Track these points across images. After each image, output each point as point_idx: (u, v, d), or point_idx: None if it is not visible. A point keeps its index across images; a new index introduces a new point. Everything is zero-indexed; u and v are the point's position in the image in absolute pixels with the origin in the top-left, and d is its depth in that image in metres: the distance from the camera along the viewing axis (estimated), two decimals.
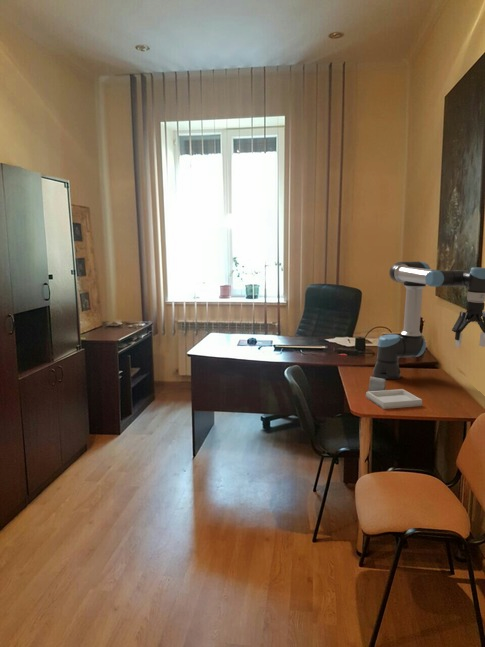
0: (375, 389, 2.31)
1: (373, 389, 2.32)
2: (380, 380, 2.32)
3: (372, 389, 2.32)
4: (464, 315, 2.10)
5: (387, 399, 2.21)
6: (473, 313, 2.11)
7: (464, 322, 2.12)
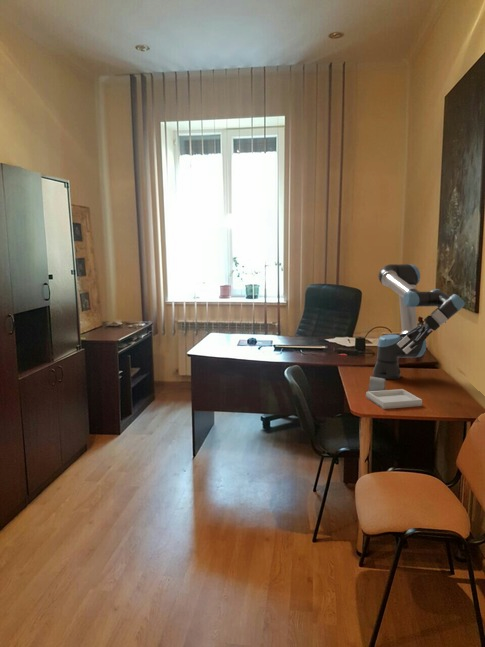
0: (375, 389, 2.32)
1: (373, 389, 2.32)
2: (380, 380, 2.32)
3: (372, 389, 2.32)
4: None
5: (387, 399, 2.21)
6: None
7: None
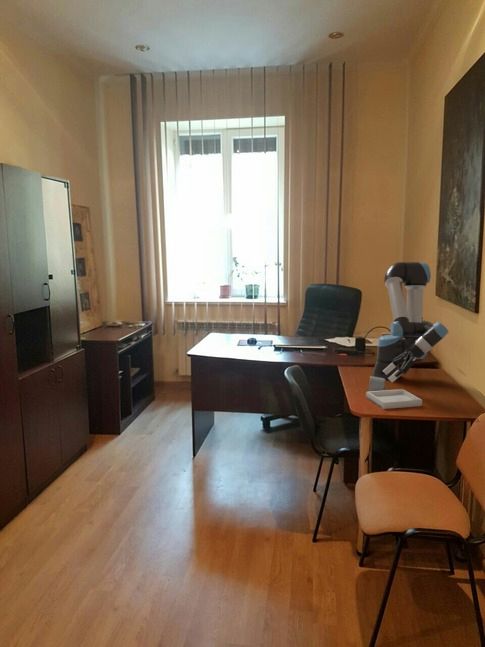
0: (375, 389, 2.32)
1: (373, 389, 2.33)
2: (380, 380, 2.32)
3: (372, 389, 2.33)
4: None
5: (387, 399, 2.21)
6: None
7: None
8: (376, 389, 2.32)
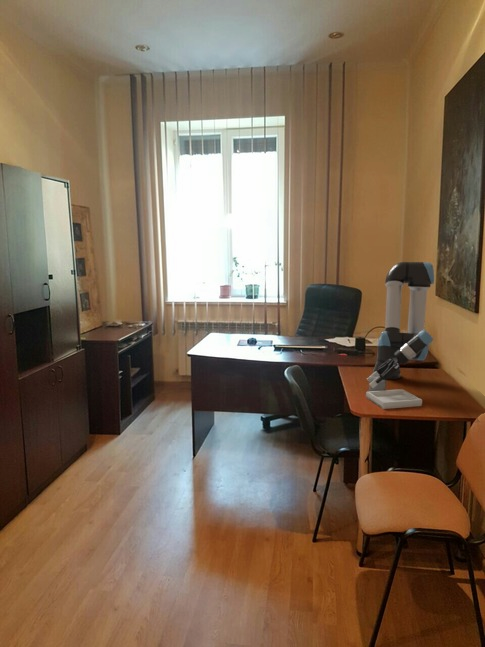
0: (376, 388, 2.32)
1: (374, 388, 2.32)
2: None
3: (373, 388, 2.33)
4: None
5: (387, 399, 2.21)
6: None
7: None
8: (377, 389, 2.32)
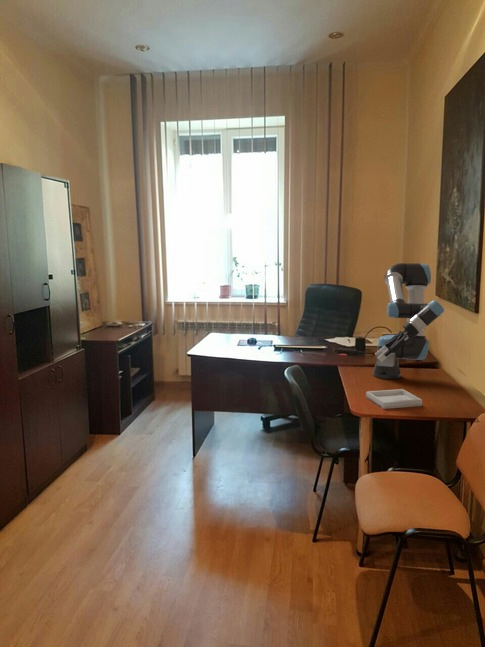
0: (384, 362, 2.22)
1: (382, 362, 2.22)
2: None
3: (381, 362, 2.23)
4: None
5: (387, 399, 2.21)
6: None
7: None
8: (385, 363, 2.22)
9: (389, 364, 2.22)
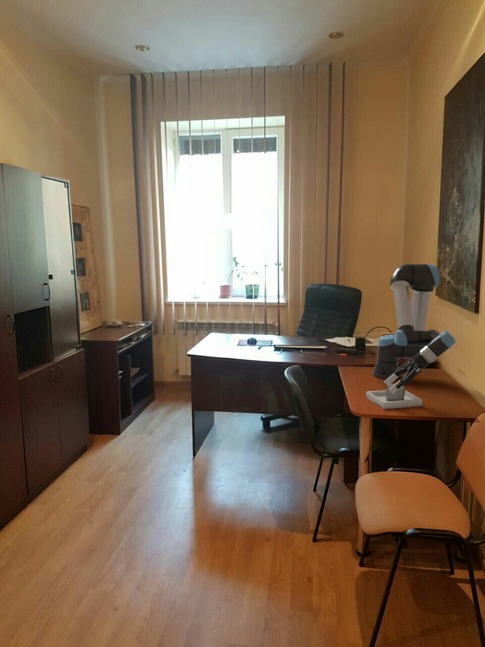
0: (393, 397, 2.16)
1: (391, 397, 2.17)
2: None
3: (390, 397, 2.17)
4: None
5: None
6: None
7: None
8: (394, 398, 2.17)
9: (398, 399, 2.16)
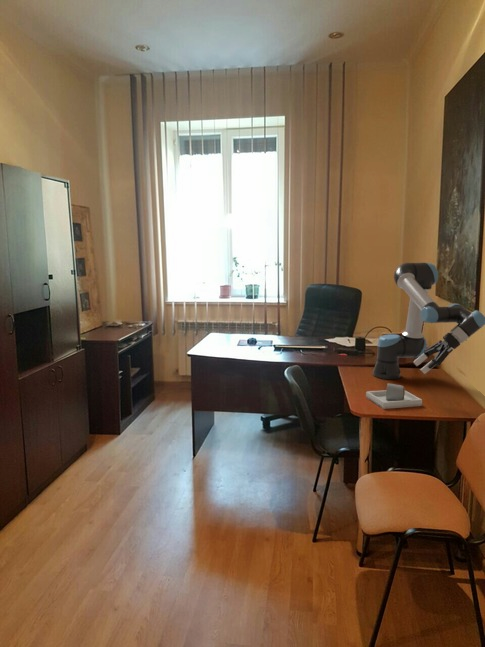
0: (393, 397, 2.17)
1: (391, 397, 2.17)
2: (398, 387, 2.17)
3: (390, 397, 2.17)
4: None
5: (387, 399, 2.21)
6: None
7: None
8: (394, 397, 2.17)
9: (398, 399, 2.17)
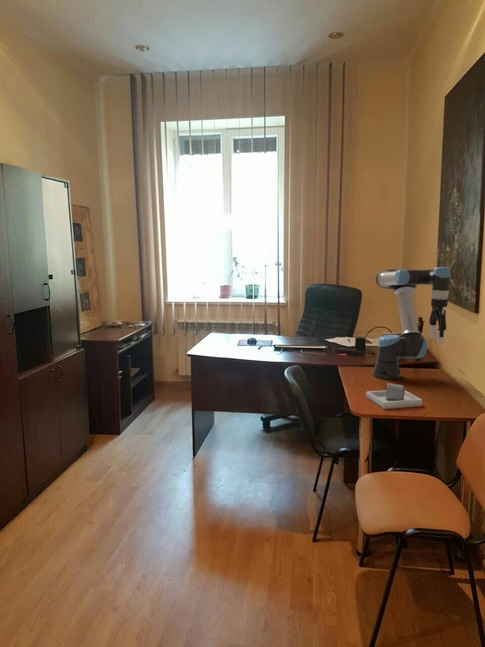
0: (393, 396, 2.17)
1: (391, 396, 2.18)
2: (398, 387, 2.17)
3: (390, 396, 2.18)
4: None
5: (387, 399, 2.21)
6: None
7: None
8: (394, 397, 2.17)
9: (398, 398, 2.17)
